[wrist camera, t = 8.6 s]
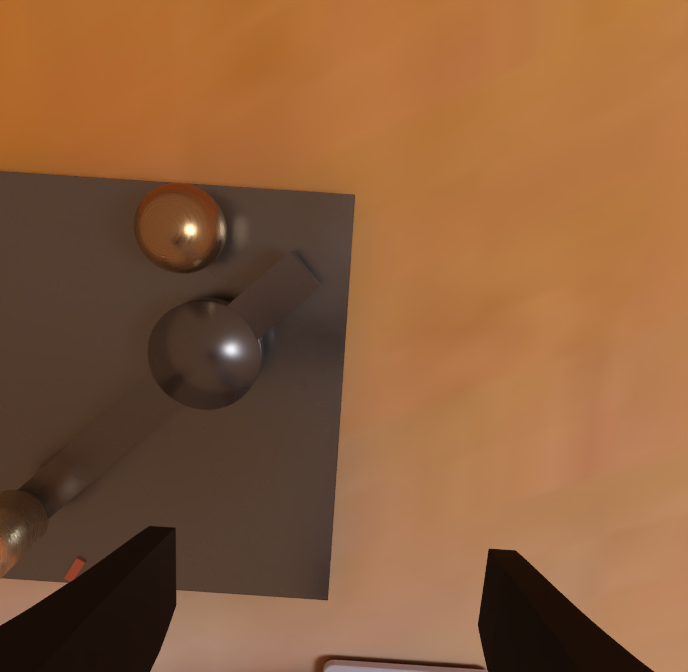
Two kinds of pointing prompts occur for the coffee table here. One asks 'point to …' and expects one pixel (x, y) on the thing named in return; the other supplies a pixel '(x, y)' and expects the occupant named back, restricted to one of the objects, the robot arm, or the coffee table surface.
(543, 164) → the coffee table surface
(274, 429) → the dark grey flat slab
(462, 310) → the coffee table surface
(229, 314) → the lever
